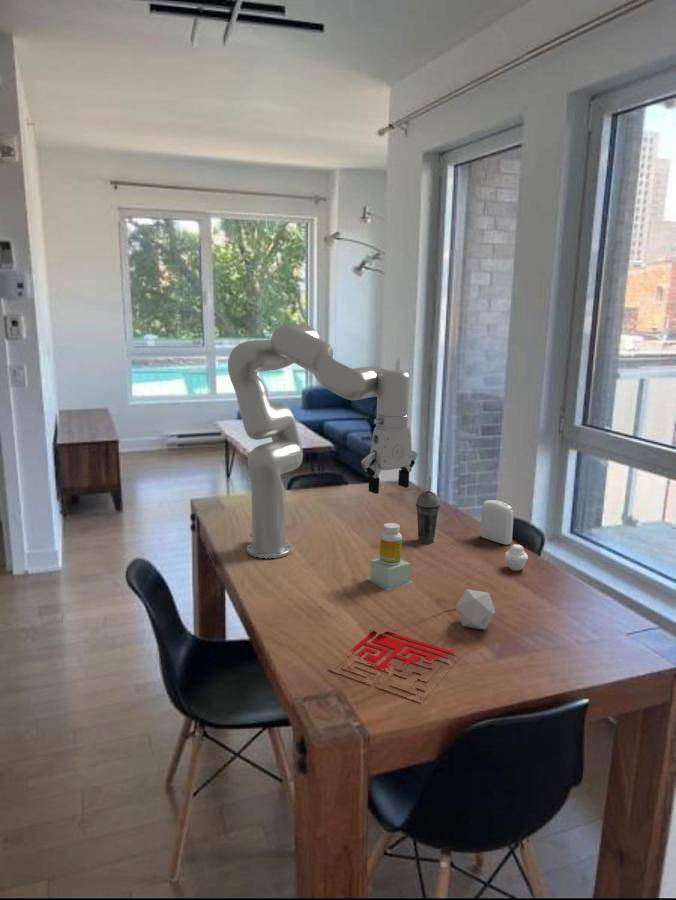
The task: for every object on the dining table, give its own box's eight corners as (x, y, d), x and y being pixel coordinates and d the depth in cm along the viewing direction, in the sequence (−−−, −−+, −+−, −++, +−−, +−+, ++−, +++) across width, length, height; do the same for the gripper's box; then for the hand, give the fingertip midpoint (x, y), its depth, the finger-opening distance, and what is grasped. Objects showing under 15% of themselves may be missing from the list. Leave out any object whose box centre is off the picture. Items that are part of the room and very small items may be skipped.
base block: (370, 578, 168) (371, 560, 167) (391, 572, 172) (391, 554, 171) (388, 588, 162) (388, 569, 161) (409, 581, 167) (410, 563, 165)
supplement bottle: (399, 566, 163) (401, 529, 161) (378, 564, 164) (379, 527, 162) (402, 558, 168) (403, 522, 166) (381, 556, 169) (382, 521, 167)
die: (475, 641, 142) (503, 607, 141) (444, 614, 145) (471, 580, 144) (479, 637, 149) (505, 604, 149) (449, 611, 152) (475, 579, 152)
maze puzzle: (327, 672, 128) (328, 669, 128) (376, 630, 145) (376, 628, 145) (421, 706, 118) (421, 702, 118) (461, 657, 135) (462, 654, 135)
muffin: (527, 573, 176) (529, 549, 175) (504, 571, 177) (506, 547, 176) (526, 565, 182) (528, 541, 181) (503, 563, 183) (505, 539, 182)
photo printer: (477, 536, 204) (480, 498, 201) (486, 533, 206) (489, 496, 204) (505, 546, 196) (508, 507, 193) (513, 543, 199) (517, 504, 196)
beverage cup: (411, 543, 197) (414, 479, 193) (417, 535, 204) (420, 473, 199) (434, 546, 194) (438, 481, 190) (440, 538, 201) (444, 476, 197)
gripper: (374, 427, 150) (371, 498, 154) (428, 421, 161) (424, 488, 164) (354, 422, 156) (351, 490, 160) (407, 416, 166) (404, 481, 170)
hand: (388, 489), depth 162 cm, fingers open, 9 cm apart
